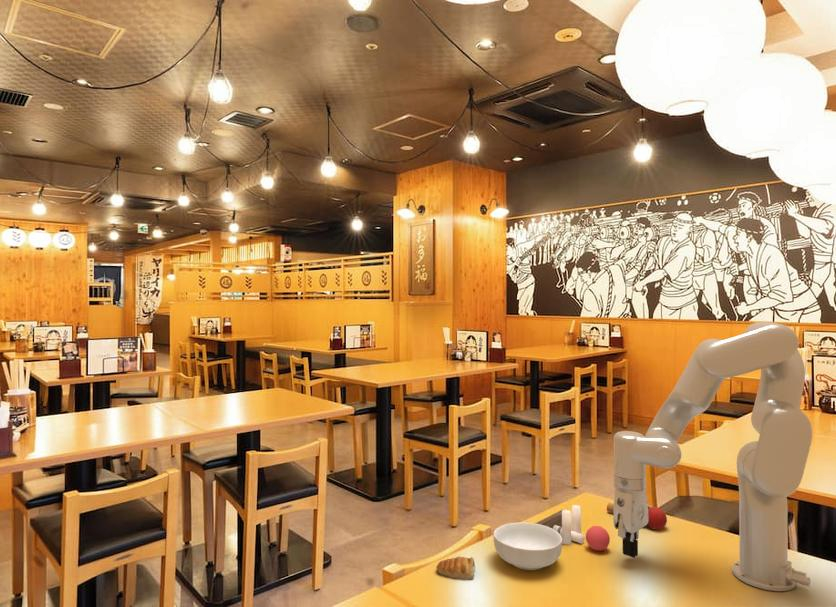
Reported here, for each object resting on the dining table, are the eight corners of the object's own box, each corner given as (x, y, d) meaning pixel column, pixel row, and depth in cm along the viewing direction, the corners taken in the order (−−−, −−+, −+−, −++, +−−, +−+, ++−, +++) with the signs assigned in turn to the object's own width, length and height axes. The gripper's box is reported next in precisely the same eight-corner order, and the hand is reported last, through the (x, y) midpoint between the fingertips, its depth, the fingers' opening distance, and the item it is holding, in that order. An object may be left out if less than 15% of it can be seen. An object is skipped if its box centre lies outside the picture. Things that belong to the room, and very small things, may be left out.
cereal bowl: (574, 561, 136) (574, 533, 136) (540, 587, 124) (540, 557, 124) (516, 541, 148) (516, 515, 148) (480, 563, 136) (480, 535, 136)
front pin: (584, 533, 147) (557, 524, 153) (580, 535, 145) (552, 525, 151) (584, 542, 147) (556, 533, 153) (579, 544, 145) (552, 534, 151)
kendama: (601, 521, 164) (658, 532, 150) (601, 499, 166) (657, 508, 152) (616, 519, 169) (672, 530, 155) (616, 498, 170) (671, 506, 156)
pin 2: (582, 537, 150) (582, 506, 150) (578, 539, 148) (577, 508, 148) (574, 534, 152) (574, 504, 152) (570, 537, 150) (570, 506, 150)
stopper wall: (567, 524, 158) (567, 511, 158) (535, 541, 147) (535, 527, 147) (562, 523, 159) (562, 509, 159) (530, 540, 148) (530, 525, 148)
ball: (589, 525, 148) (599, 548, 145) (577, 532, 143) (588, 556, 141) (606, 520, 144) (618, 543, 142) (595, 527, 140) (606, 551, 138)
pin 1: (573, 542, 146) (572, 511, 146) (568, 545, 145) (568, 514, 145) (565, 540, 148) (564, 509, 148) (560, 542, 147) (560, 511, 147)
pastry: (435, 579, 129) (435, 563, 129) (437, 565, 135) (437, 550, 135) (475, 581, 127) (475, 565, 127) (475, 567, 134) (475, 552, 134)
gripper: (630, 493, 128) (631, 570, 128) (657, 478, 139) (657, 550, 139) (601, 485, 134) (601, 559, 134) (628, 472, 144) (629, 540, 144)
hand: (630, 554), depth 136 cm, fingers closed
